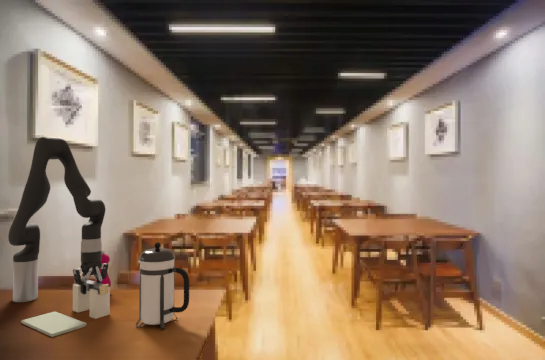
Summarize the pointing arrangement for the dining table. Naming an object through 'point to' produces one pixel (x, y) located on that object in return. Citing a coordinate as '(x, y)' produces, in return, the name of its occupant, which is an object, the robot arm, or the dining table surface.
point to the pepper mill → (107, 280)
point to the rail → (96, 287)
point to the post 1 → (80, 299)
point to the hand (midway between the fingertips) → (91, 292)
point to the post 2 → (99, 304)
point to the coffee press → (159, 287)
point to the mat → (53, 323)
